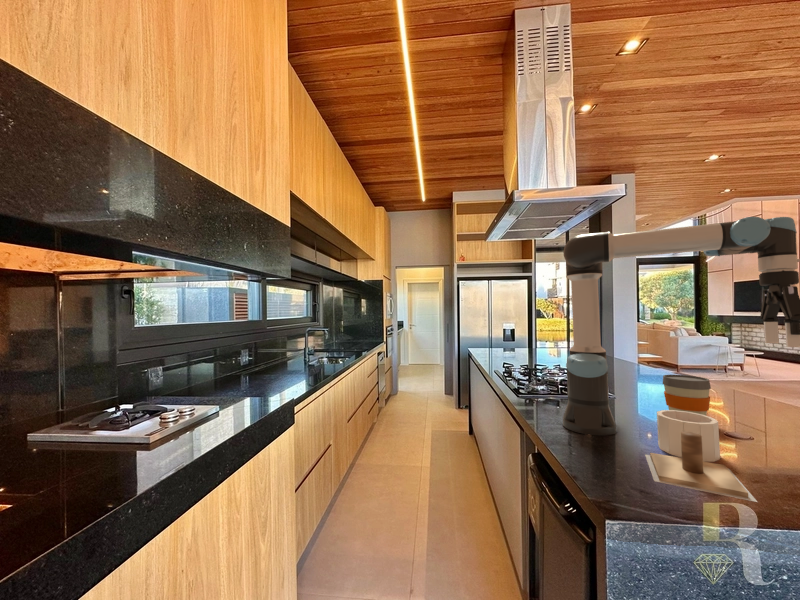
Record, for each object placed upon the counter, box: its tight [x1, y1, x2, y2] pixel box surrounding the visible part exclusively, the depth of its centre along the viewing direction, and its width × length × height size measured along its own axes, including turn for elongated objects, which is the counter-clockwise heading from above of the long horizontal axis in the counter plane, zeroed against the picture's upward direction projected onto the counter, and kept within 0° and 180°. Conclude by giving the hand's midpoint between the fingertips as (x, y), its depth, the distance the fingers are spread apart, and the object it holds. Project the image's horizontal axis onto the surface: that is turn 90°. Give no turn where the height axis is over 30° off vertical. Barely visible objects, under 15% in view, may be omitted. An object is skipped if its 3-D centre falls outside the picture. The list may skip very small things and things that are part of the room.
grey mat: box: [644, 454, 758, 503], centre depth 74 cm, size 16×16×1 cm
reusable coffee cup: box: [662, 374, 712, 416], centre depth 113 cm, size 13×13×15 cm
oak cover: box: [649, 432, 749, 498], centre depth 75 cm, size 14×14×9 cm
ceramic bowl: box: [656, 409, 721, 463], centre depth 87 cm, size 12×12×10 cm
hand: (782, 345), depth 94 cm, fingers open, 13 cm apart
